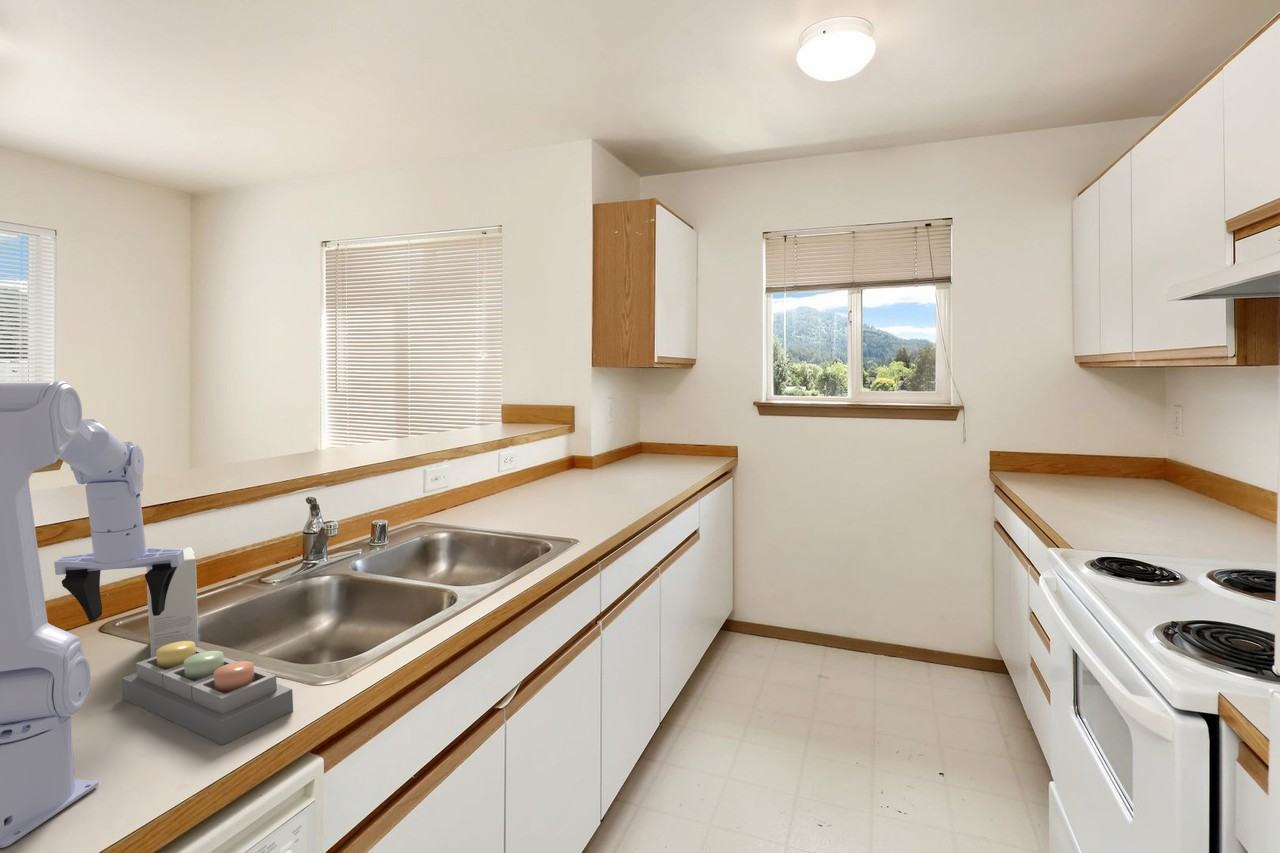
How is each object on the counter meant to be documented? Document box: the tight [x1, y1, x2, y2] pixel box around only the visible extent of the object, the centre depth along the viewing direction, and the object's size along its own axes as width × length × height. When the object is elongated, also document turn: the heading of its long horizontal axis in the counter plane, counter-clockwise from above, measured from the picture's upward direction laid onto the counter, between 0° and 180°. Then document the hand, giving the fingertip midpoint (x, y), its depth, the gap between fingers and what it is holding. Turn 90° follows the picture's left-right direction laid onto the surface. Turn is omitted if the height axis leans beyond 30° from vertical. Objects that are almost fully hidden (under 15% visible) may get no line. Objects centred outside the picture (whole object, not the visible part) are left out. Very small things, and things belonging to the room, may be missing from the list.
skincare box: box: [145, 546, 199, 658], centre depth 104 cm, size 8×7×16 cm
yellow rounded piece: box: [156, 641, 196, 668], centre depth 88 cm, size 4×4×2 cm
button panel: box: [121, 647, 294, 746], centre depth 85 cm, size 24×9×5 cm, turn 62°
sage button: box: [184, 650, 225, 680], centre depth 85 cm, size 4×4×2 cm
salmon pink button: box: [214, 660, 255, 692], centre depth 82 cm, size 4×4×2 cm
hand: (127, 615), depth 91 cm, fingers open, 7 cm apart
